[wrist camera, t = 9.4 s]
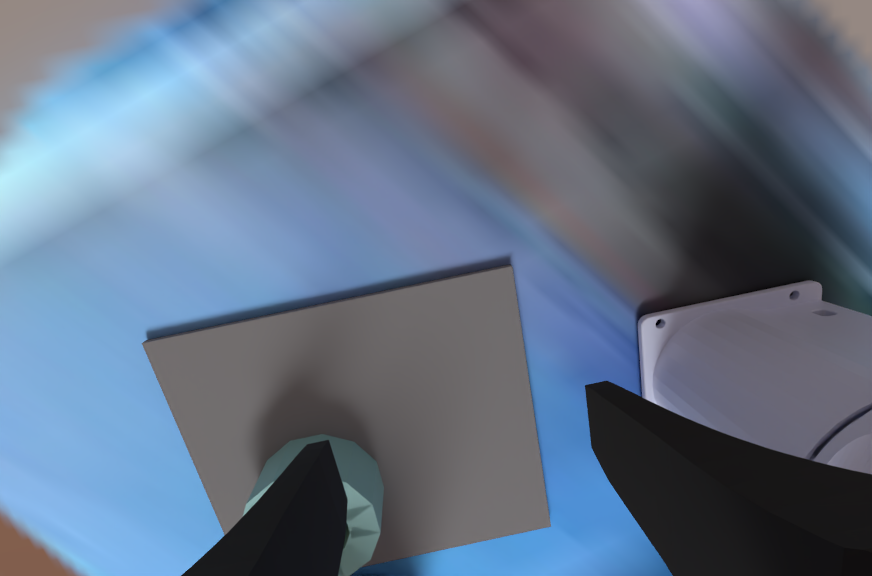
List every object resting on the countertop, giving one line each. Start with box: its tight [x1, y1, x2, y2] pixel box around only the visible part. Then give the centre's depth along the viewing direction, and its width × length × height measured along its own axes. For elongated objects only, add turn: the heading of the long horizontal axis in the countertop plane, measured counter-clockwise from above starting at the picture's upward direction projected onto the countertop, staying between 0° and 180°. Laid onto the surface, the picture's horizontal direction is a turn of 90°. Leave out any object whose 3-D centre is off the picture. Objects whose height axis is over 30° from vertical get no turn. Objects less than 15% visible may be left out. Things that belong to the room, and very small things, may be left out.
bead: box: [243, 434, 384, 576], centre depth 21 cm, size 6×6×3 cm
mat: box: [142, 265, 551, 567], centre depth 22 cm, size 18×16×1 cm
